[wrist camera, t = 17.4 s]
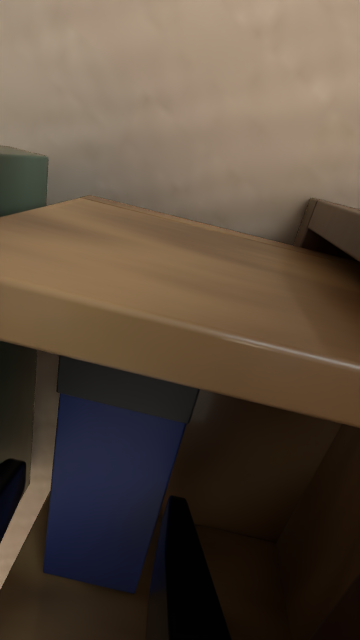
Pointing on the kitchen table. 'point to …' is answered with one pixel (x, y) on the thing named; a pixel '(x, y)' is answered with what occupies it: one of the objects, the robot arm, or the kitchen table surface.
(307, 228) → the cabinet
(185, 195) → the kitchen table surface
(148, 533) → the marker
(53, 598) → the drawer
